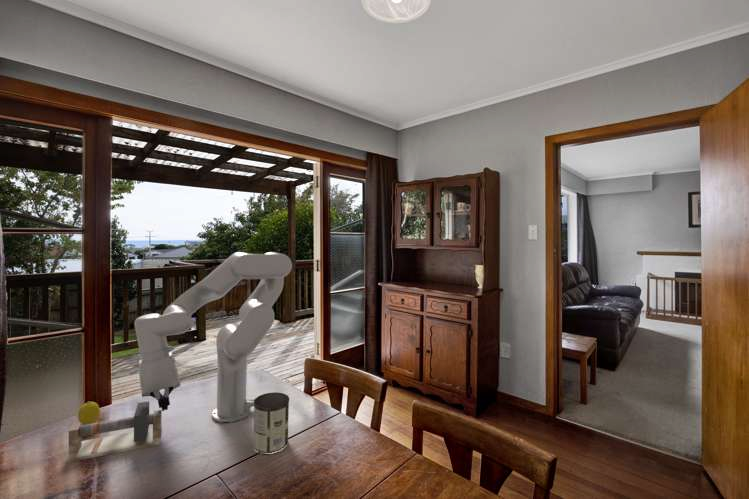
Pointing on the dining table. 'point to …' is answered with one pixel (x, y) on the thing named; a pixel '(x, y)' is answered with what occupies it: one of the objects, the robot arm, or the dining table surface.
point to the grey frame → (141, 421)
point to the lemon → (88, 413)
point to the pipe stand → (110, 437)
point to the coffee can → (271, 422)
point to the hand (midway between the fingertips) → (165, 408)
